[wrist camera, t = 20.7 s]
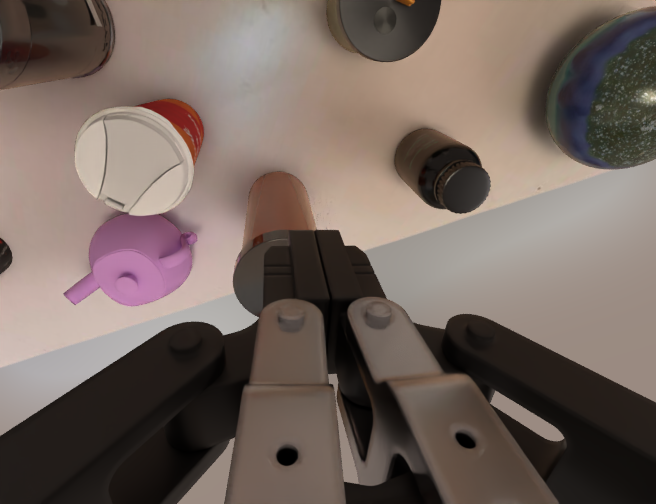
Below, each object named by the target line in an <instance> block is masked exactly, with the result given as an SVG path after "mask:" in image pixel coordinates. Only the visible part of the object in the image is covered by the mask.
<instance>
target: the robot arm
mask: <svg viewBox="0 0 656 504" xmlns="http://www.w3.org/2000/svg"><path fill="white" fill-rule="evenodd" d="M114 42H115V30H114V23H113V19H112V16H111V13H110V10H109V8H108V6H107V3H106V1H105V0H0V90H5V89H11V88H16V87H22V86H28V85H33V84H39V83H44V82H50V81H55V80H62V79H67V78H80V77H85V76H89V75H91V74H94V73H96V72H97V71H99V70H100V69H101V68H102V67H103V66H104V65H105V64H106V63H107V62H108V60H109V58H110V57H111V54H112V51H113V48H114ZM328 374H337V378H338V382H339V383H338V391H337V402H338V406H339V409H340V413H341V417H342V420H343V424H344V427H345V431H346V434H347V438H348V441H349V445H350V448H351V452H352V455H353V459H354V462H355V466H356V470H357V474H358V480H359V484H354V483H347V482H344V480H343V470H342V460H341V450H340V440H339V430H338V420H337V411H336V400H335V391H334V387H333V385H332V384H329V379H328ZM495 390H496V391H498V392H499V393H501V394H502V395H504V396H506V397H507V398H509V399H511V400H513V401H514V402H516V403H517V404H519V405H521V406H522V407H524V408H526V409H527V410H529V411H530V412H532V413H534V414H535V415H537V416H539V417H540V418H542V419H544V420H545V421H547V422H548V423H550V424H552V425H553V426H555V427H556V428H557V429H558V430H559V431H560V432H561V433H562V434H563V436H564V439H563V440H562V441H558V442H556V441H550V440H547V439H545V438H543V437H541V436H540V435H538V434H536V433H535V432H533V431H532V430H530V429H529V428H527V427H525V426H524V425H522V424H521V423H519V422H518V421H516V420H514V419H512V418H511V417H510V416H508V415H507V414H505V413H503V412H502V411H500V410H498V409H497V408H496V407H494V406H492V405H491V404H490V402H491V400H492V397H493V395H494V392H495ZM234 437H235V442H234V448H233V454H232V460H231V466H230V472H229V478H228V484H227V490H226V497H225V502H224V504H656V403H655V402H654V401H651V400H650V399H648V398H646V397H643V396H642V395H640V394H637V393H635V392H633V391H631V390H629V389H628V388H626V387H623V386H622V385H619V384H618V383H615V382H613V381H611V380H609V379H607V378H606V377H604V376H601V375H599V374H598V373H596V372H593V371H592V370H590V369H588V368H585V367H584V366H582V365H580V364H578V363H576V362H574V361H572V360H569V359H568V358H565V357H564V356H562V355H560V354H558V353H556V352H554V351H552V350H549V349H547V348H546V347H544V346H542V345H539V344H538V343H536V342H533V341H532V340H530V339H528V338H526V337H524V336H522V335H520V334H517V333H516V332H514V331H512V330H510V329H508V328H506V327H504V326H502V325H500V324H498V323H496V322H494V321H491V320H489V319H487V318H484V317H482V316H478V315H472V314H460V315H456V316H454V317H452V318H450V319H449V321H448V323H447V325H446V328H445V329H440V328H434V327H429V326H424V325H420V324H416V323H413V322H412V321H411V319H410V317H409V316H408V314H407V313H406V311H405V310H404V309H403V308H402V307H401V306H399V305H398V304H396V303H394V302H393V301H390V300H388V299H387V298H386V296H385V294H384V292H383V290H382V288H381V285H380V283H379V281H378V279H377V277H376V275H375V274H374V270H373V268H372V266H371V264H370V262H369V259H368V257H367V255H366V254H365V253H364V252H363V251H361V250H360V249H359V248H358V247H356V246H344V243H343V240H342V238H341V235H340V232H339V230H314V232H313V230H289V232H288V246H271V247H270V248H269V249H268V250H267V252H266V253H265V254H264V280H263V310H262V311H261V313H260V316H259V319H258V320H257V321H256V322H255V323H254V324H252V325H251V326H249V327H247V328H245V329H243V330H241V331H238V332H235V333H231V334H227V335H222V333H221V332H220V331H219V329H217V328H216V327H215V326H213V325H210V324H208V323H204V322H185V323H180V324H177V325H173V326H171V327H168V328H166V329H165V330H163V331H161V332H160V333H158V334H157V335H155V336H153V337H152V338H150V339H149V340H148V341H146V342H144V343H143V344H141V345H140V346H138V347H137V348H135V349H134V350H132V351H130V352H129V353H127V354H126V355H125V356H123V357H121V358H120V359H118V360H117V361H115V362H113V363H112V364H110V365H109V366H107V367H106V368H104V369H103V370H101V371H100V372H98V373H97V374H95V375H94V376H92V377H90V378H89V379H87V380H86V381H84V382H83V383H81V384H80V385H78V386H77V387H75V388H73V389H72V390H70V391H69V392H67V393H66V394H64V395H63V396H61V397H60V398H58V399H57V400H55V401H54V402H52V403H50V404H49V405H47V406H46V407H44V408H43V409H41V410H40V411H38V412H37V413H35V414H33V415H32V416H30V417H29V418H27V419H26V420H25V421H23V422H21V423H20V424H18V425H17V426H15V427H13V428H12V429H11V430H9V431H7V432H6V433H4V434H3V435H1V436H0V504H177V503H178V502H179V501H180V500H181V499H182V497H183V496H184V495H185V494H186V493H187V492H188V491H189V490H190V489H191V487H192V486H193V485H194V484H195V483H196V482H197V481H198V479H199V478H200V477H201V476H202V475H203V474H204V473H205V472H206V471H207V469H208V468H209V467H210V466H211V465H212V464H213V463H214V462H215V461H216V459H217V458H218V457H219V456H220V455H221V454H222V453H223V451H224V450H225V449H226V447H227V445H228V444H229V441H230V439H232V438H234Z"/></svg>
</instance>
